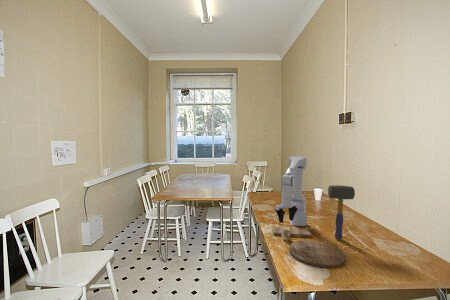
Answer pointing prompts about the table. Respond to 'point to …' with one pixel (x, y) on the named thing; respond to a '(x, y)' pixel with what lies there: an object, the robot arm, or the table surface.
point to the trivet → (317, 254)
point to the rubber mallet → (340, 204)
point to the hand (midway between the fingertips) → (286, 221)
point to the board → (292, 232)
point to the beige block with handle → (285, 233)
